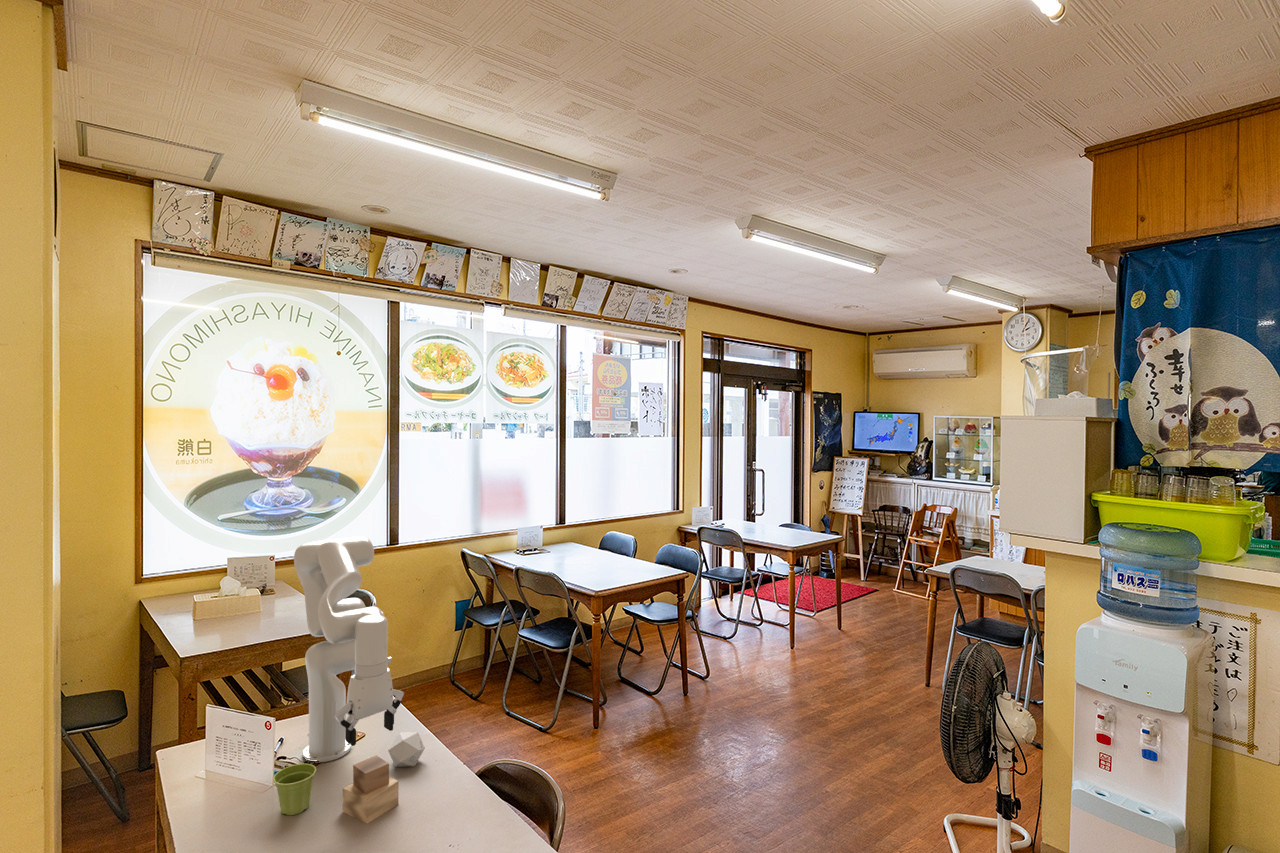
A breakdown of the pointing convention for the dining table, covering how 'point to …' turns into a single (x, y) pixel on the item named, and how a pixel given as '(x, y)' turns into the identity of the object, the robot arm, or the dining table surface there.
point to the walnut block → (370, 774)
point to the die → (406, 749)
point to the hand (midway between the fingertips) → (370, 736)
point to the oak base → (370, 801)
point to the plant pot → (294, 787)
